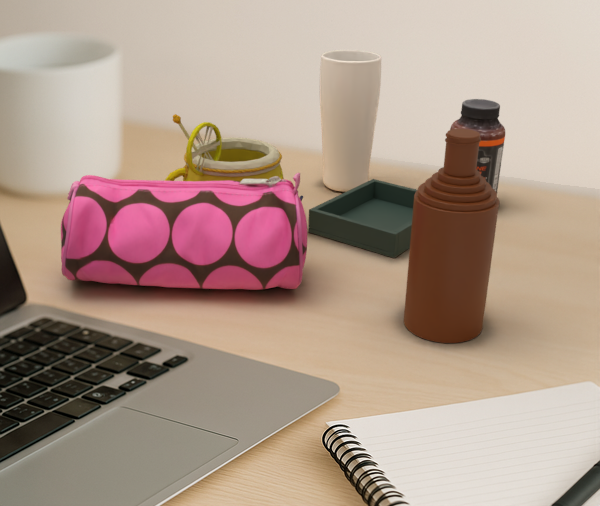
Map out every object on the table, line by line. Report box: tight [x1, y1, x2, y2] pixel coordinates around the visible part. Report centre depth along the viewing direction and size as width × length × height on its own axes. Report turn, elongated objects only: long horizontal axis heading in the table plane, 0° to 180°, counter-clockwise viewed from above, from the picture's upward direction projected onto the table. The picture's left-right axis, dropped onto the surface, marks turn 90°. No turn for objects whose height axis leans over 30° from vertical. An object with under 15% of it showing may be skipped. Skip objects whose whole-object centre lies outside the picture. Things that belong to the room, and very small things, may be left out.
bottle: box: [403, 129, 500, 344], centre depth 64 cm, size 6×6×16 cm
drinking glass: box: [319, 49, 382, 193], centre depth 94 cm, size 7×7×15 cm
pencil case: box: [60, 172, 308, 291], centre depth 72 cm, size 21×10×10 cm, turn 92°
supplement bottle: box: [449, 98, 506, 194], centre depth 90 cm, size 6×6×11 cm
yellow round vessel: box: [164, 113, 285, 182], centre depth 83 cm, size 13×11×12 cm
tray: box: [307, 178, 418, 259], centre depth 86 cm, size 12×10×2 cm
